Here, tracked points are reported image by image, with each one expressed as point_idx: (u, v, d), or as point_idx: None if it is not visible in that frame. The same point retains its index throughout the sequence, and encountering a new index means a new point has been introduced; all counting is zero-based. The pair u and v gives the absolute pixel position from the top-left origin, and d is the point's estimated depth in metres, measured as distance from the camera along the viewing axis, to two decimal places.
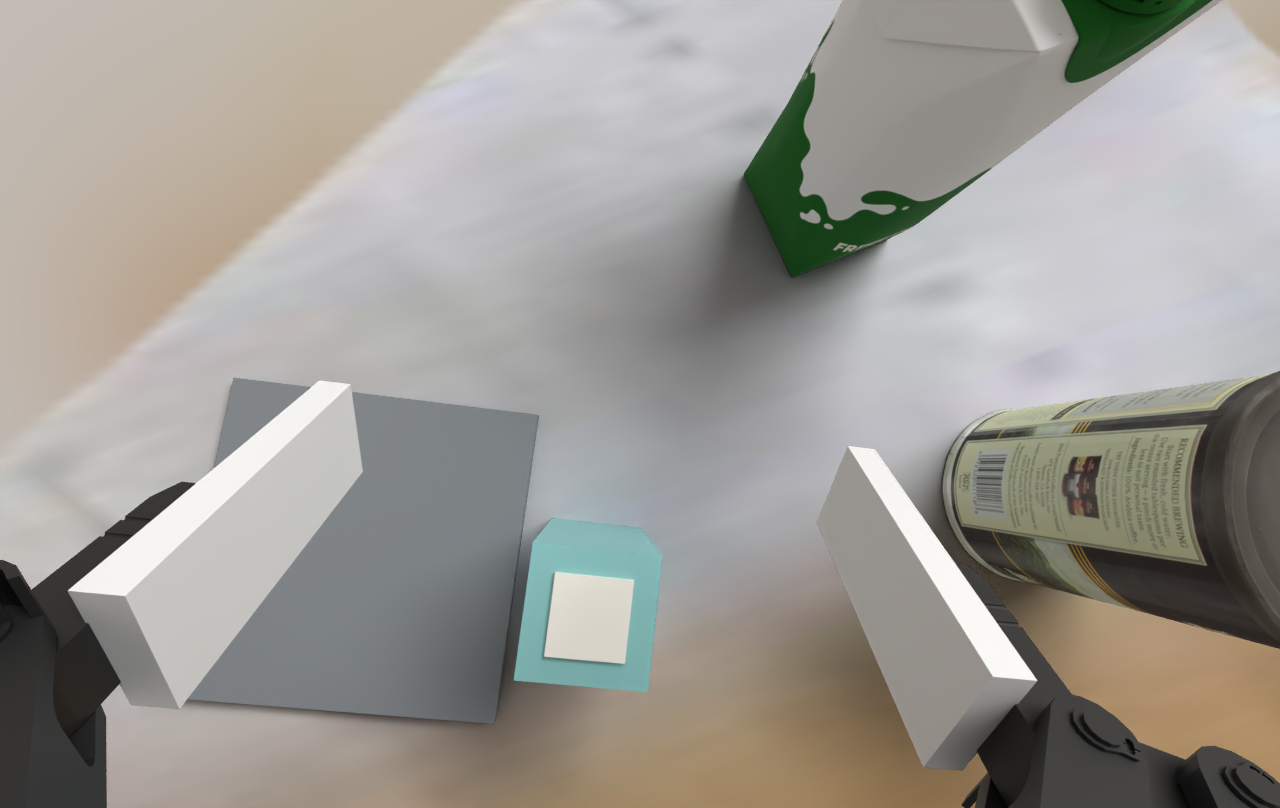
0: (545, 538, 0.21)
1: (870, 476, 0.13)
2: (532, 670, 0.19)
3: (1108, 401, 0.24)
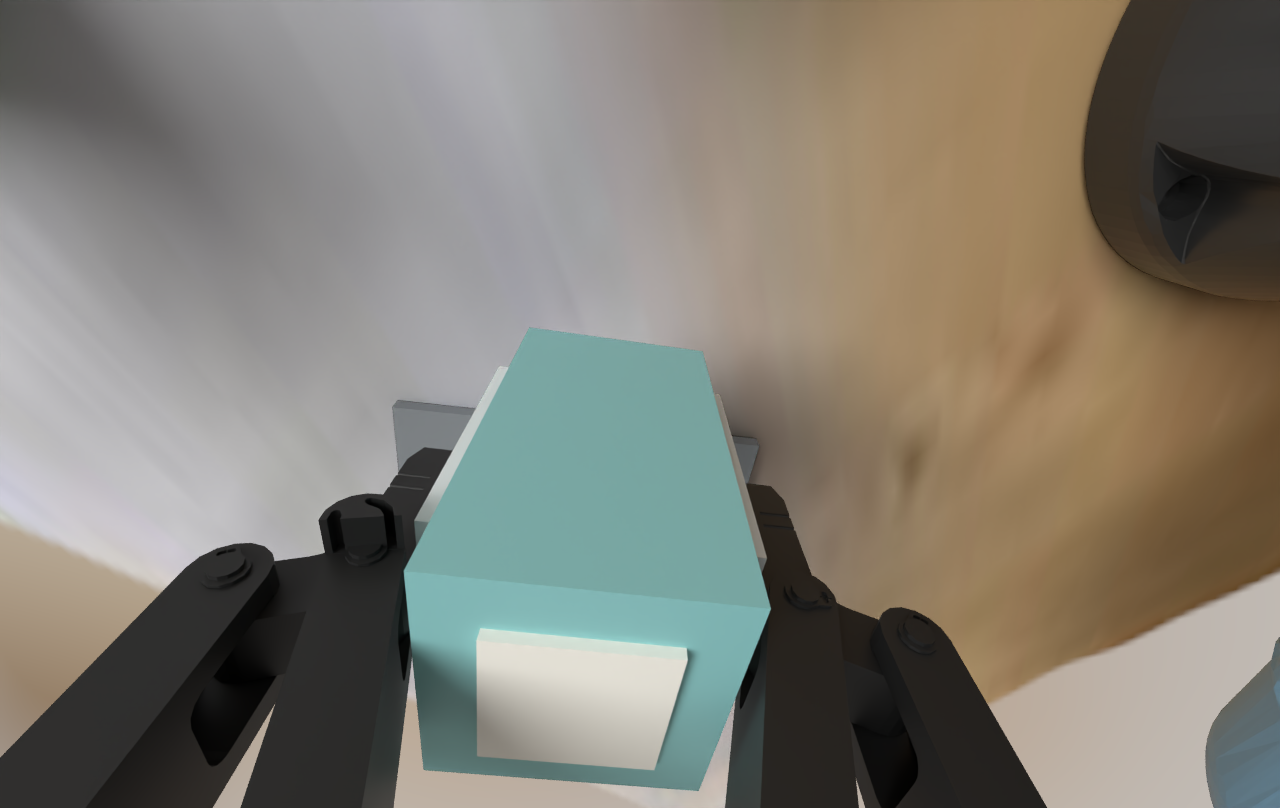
0: None
1: None
2: (684, 771, 0.09)
3: None
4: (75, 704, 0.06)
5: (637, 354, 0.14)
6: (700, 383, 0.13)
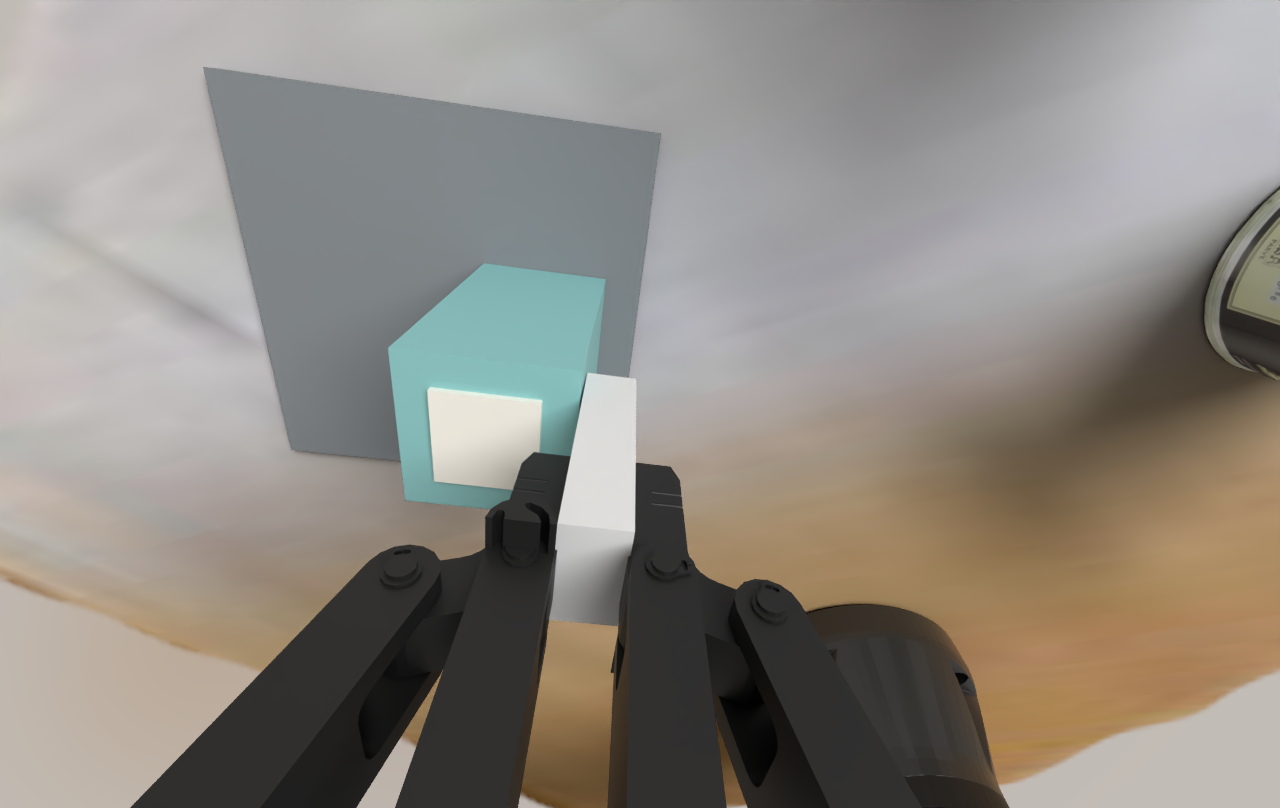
0: (421, 331, 0.15)
1: (612, 397, 0.14)
2: (425, 492, 0.16)
3: None
4: (274, 680, 0.07)
5: (597, 355, 0.22)
6: None
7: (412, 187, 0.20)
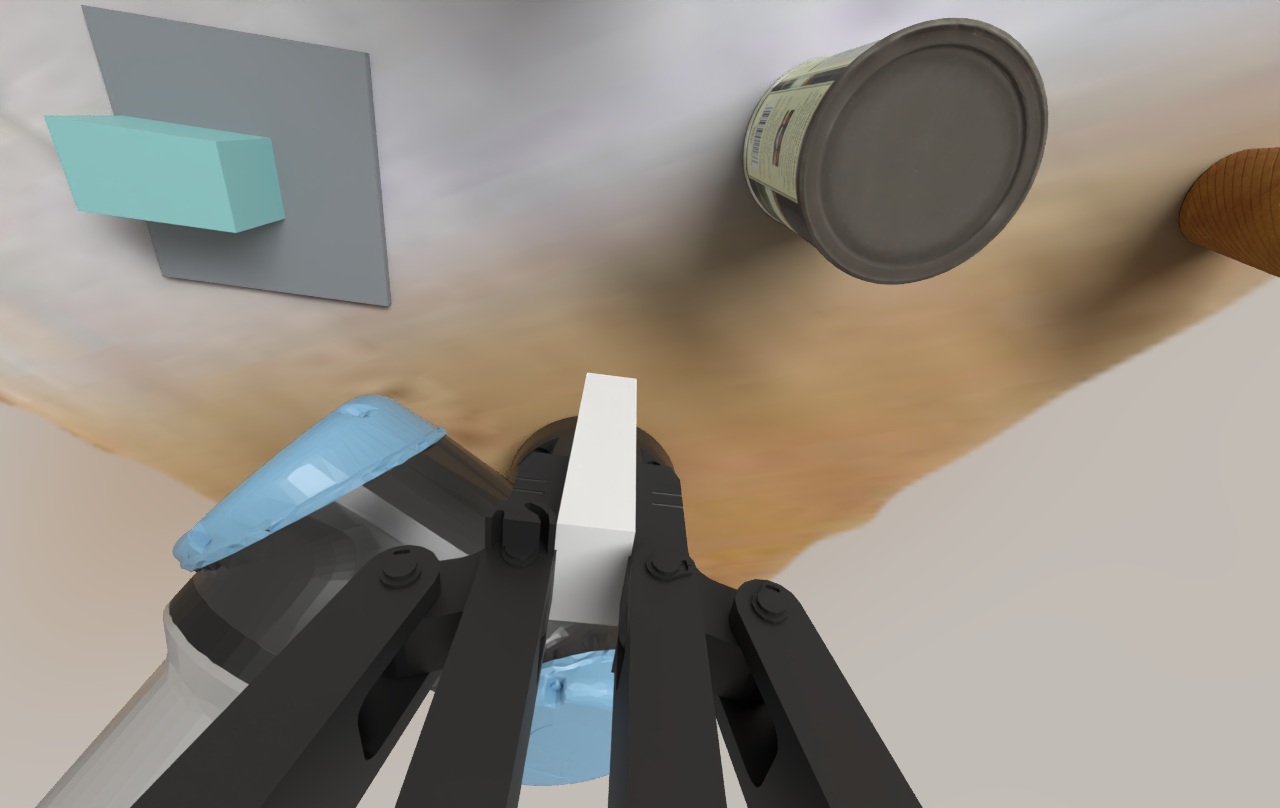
0: (139, 118, 0.33)
1: (613, 397, 0.14)
2: None
3: (844, 52, 0.25)
4: (273, 681, 0.07)
5: (213, 197, 0.31)
6: (198, 223, 0.31)
7: (217, 85, 0.32)
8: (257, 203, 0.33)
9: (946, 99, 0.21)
